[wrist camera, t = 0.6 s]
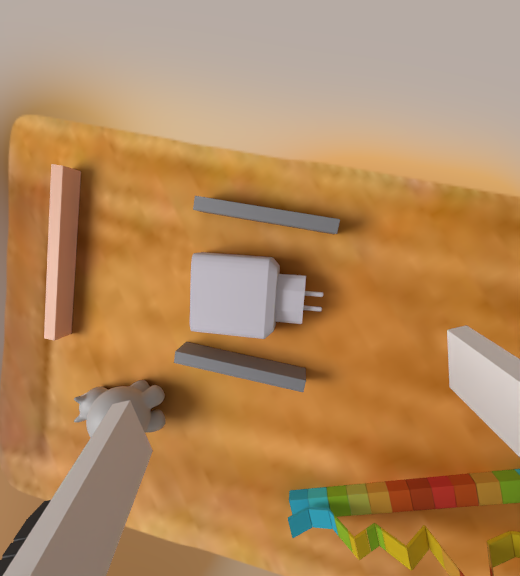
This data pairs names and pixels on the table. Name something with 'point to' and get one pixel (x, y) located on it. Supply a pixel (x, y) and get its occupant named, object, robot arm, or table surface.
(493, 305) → the table surface
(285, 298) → the charger
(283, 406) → the table surface
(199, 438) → the table surface
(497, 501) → the chart
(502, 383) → the robot arm
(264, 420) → the table surface
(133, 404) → the chubby cartoon animal
